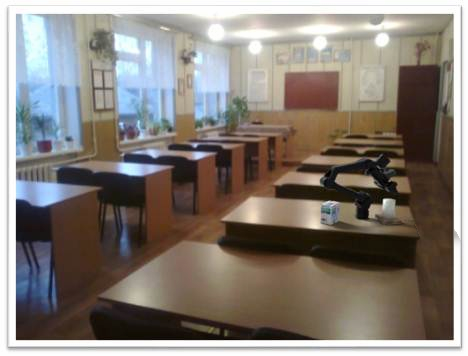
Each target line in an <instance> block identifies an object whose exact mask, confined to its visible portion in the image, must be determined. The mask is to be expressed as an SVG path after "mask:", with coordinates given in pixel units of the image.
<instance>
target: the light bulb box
mask: <svg viewBox="0 0 468 356" xmlns="http://www.w3.org/2000/svg"><path fill="white" fill-rule="evenodd" d="M340 207H341V202H338V201H335V200H333V201H332V200H328V201H326V202H323V203H321V205H320V223H321V224H324V225H330V226H332V225H334V224H336V223H338V222H340Z"/></svg>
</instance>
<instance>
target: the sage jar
mask: <svg viewBox="0 0 468 356" xmlns="http://www.w3.org/2000/svg"><path fill="white" fill-rule="evenodd" d="M395 208H396V199H393V198H383V199H382V212H381V214H382V218H385V219H394V216H395Z"/></svg>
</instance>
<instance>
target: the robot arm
mask: <svg viewBox="0 0 468 356" xmlns="http://www.w3.org/2000/svg"><path fill="white" fill-rule="evenodd" d="M390 163H391V160H390V158H388V157H387V156H386V155H384V153H380V155H379V156H378V157H377V158H376V159H375V160H374V159H371V158H368V157H362V158H358V159H357V160H356V161H352V162H347V163H343V164H338V165H333V166H332V165H331V167H330V169H329V170H328V171H327V172H326V173H324V175H323V176H322V177H321V178H320V179H319V184H320V186H322V187H324V188H325V189H328V190H334V191H337V192H340V193H342V194H344V195H346V196H348V197H351V198H353V199H355V201H354V206H355V214H354V217H355V218H356V219H357V220H369V216H370V208H371V206H372V204H373V201H374V198H373V197H372V195H371V194H369V193H367V192H365V191H362V190H360V191H359V192H357V191H355V190H353V189H350V188H348V187H346V186H343V185H341V184H339V183H338V182H336V179H337V177H338V175H339V174H340V173H344V172H350V171H355V170H364V175H366V176H369V175H370V176H371V178H372V180H373V184H374V185H375V186H376V187H377V188H380V189H382V190H385V191H386V192H388V193H390V194H393V195H395V196H397V197H398V196H399V195H400V193H399V190H398V189H397V187H398V185H399V183H398V182H397V181H395V180H391V178H394V177H396V176H397V172H396V171H395V170H396V169H393V168H387V166H389V164H390ZM381 170H383V172H382V171H381Z"/></svg>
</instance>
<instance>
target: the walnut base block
mask: <svg viewBox="0 0 468 356" xmlns="http://www.w3.org/2000/svg"><path fill="white" fill-rule="evenodd" d="M375 217H376V218H377V219H378V220H377V219H376V218H375ZM374 218H375V219H376V220H377V221H379V222H380V223H381V224H382V225H383V224H401V225H402V224H403V223H402V220H401V219H400V218H399V217H397V216H396V215H394V219H385V218H382V213H375V214H374Z"/></svg>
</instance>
